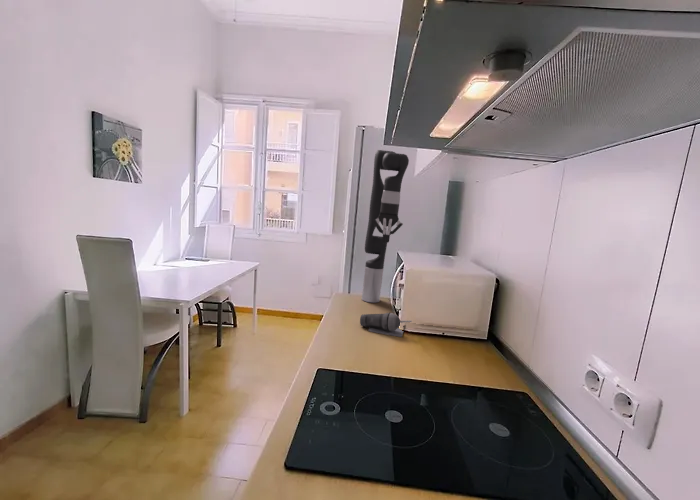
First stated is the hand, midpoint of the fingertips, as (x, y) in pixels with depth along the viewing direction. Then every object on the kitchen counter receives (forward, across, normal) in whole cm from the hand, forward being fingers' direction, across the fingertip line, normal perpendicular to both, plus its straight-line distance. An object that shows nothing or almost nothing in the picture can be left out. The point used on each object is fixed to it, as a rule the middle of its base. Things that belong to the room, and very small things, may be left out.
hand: (385, 243), depth 155 cm
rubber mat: (+33, -6, +11) cm, 35 cm away
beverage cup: (+30, +4, +14) cm, 34 cm away
